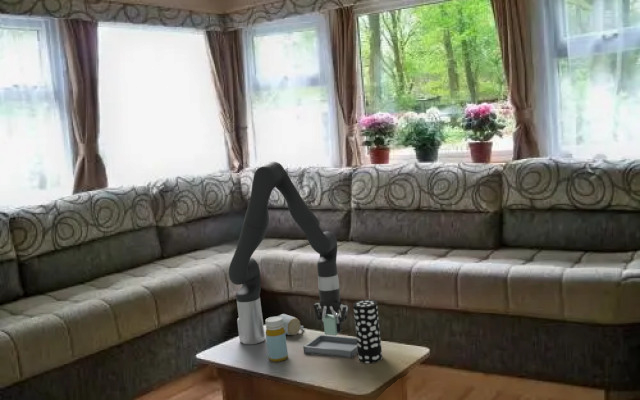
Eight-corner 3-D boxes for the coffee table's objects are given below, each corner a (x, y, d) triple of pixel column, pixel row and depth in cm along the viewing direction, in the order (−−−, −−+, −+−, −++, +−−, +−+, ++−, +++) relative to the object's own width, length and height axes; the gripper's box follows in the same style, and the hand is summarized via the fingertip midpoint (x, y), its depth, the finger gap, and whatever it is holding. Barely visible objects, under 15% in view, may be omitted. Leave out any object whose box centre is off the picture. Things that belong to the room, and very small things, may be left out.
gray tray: (304, 353, 240) (303, 346, 240) (320, 340, 251) (319, 334, 250) (351, 358, 230) (350, 351, 230) (366, 345, 241) (365, 338, 241)
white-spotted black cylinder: (355, 362, 226) (350, 307, 223) (362, 353, 234) (356, 299, 231) (379, 363, 223) (373, 307, 220) (384, 354, 231) (379, 299, 228)
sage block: (324, 334, 239) (323, 318, 238) (330, 330, 243) (329, 314, 242) (335, 335, 237) (334, 319, 236) (341, 331, 241) (340, 315, 240)
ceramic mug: (289, 338, 257) (288, 319, 256) (275, 335, 263) (273, 316, 262) (308, 330, 265) (306, 312, 264) (294, 327, 270) (292, 309, 269)
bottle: (278, 363, 232) (273, 323, 230) (265, 360, 237) (260, 320, 235) (292, 356, 238) (287, 317, 235) (278, 353, 242) (273, 314, 240)
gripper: (306, 288, 238) (311, 333, 240) (341, 291, 231) (345, 337, 233) (316, 282, 244) (321, 326, 247) (351, 284, 237) (354, 329, 240)
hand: (333, 331), depth 240 cm, fingers closed on sage block, 4 cm apart
